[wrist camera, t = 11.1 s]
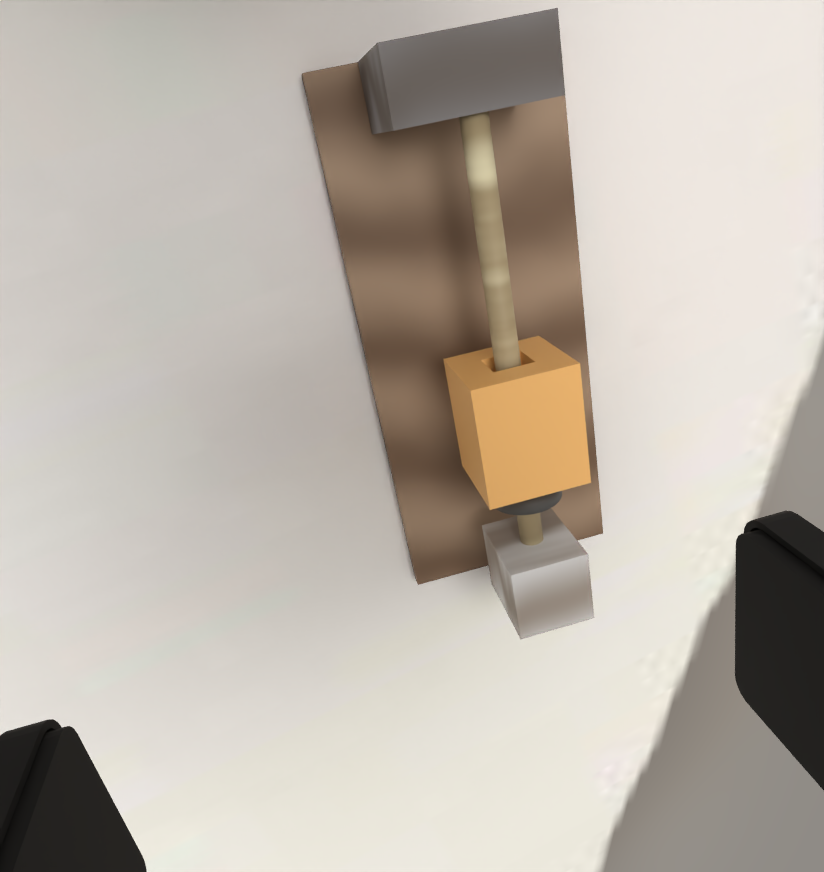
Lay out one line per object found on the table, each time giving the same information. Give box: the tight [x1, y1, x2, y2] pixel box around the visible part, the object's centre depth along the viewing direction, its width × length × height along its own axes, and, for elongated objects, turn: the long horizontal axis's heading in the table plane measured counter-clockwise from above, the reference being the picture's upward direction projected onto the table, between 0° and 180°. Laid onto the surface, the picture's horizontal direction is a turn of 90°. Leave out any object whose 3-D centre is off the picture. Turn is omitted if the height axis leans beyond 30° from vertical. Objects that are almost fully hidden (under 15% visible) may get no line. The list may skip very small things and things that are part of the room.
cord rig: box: [302, 8, 603, 639], centre depth 34 cm, size 28×12×8 cm, turn 11°
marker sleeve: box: [443, 336, 591, 510], centre depth 33 cm, size 6×5×5 cm
